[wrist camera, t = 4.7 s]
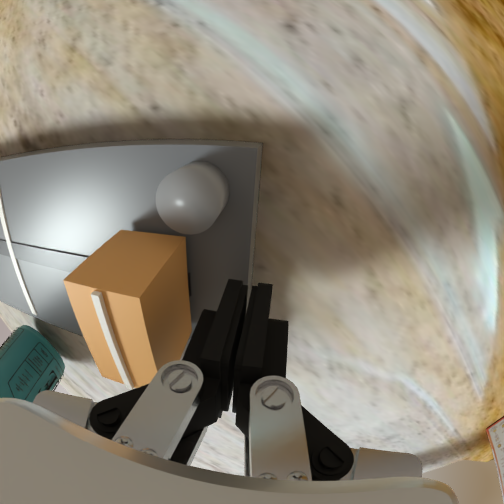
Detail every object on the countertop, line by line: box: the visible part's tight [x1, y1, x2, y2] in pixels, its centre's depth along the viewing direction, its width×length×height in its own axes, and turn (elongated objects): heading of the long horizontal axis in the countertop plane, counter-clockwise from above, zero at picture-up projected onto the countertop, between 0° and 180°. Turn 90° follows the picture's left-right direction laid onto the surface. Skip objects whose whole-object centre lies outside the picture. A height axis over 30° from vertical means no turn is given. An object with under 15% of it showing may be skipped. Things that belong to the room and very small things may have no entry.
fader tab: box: [63, 230, 192, 390], centre depth 10 cm, size 3×5×4 cm, turn 176°
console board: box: [0, 139, 263, 360], centre depth 13 cm, size 22×12×4 cm, turn 86°
